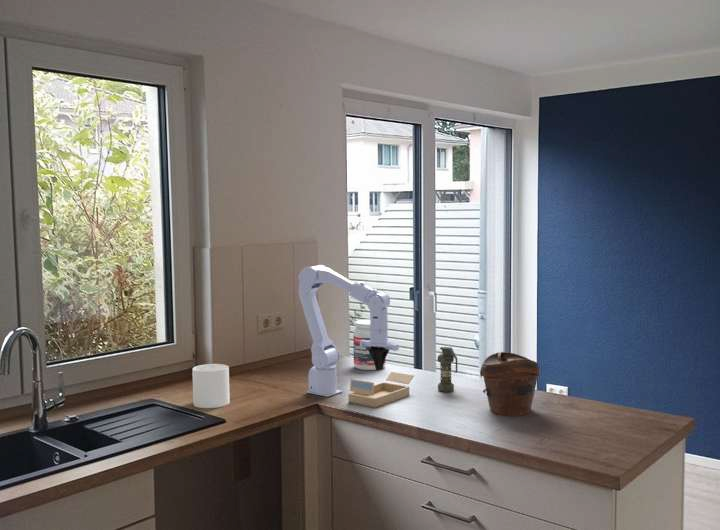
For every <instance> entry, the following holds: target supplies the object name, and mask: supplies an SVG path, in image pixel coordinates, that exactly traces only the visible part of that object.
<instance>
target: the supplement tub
mask: <svg viewBox="0 0 720 530" xmlns="http://www.w3.org/2000/svg"><path fill="white" fill-rule="evenodd" d="M354 326H355V329H354V331H353V335H352V337H353V366H354V367H355V369H357V370H362V371H377V370H376V368H375V364H374V361H373V358H372V356H371V354H370V353H369V349H371V347H367V346H360V340H370V319H359V320H356V321H355V322H354ZM386 358H387V357H386ZM386 358H385V361H384V365H383V368H385V366H386V363H387V360H386Z"/></svg>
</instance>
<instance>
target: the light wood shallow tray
mask: <svg viewBox="0 0 720 530" xmlns="http://www.w3.org/2000/svg"><path fill="white" fill-rule="evenodd" d="M409 396H410V386H406V385H402V384H396V383H395V384H394V383H392V382H383V381H382V382H379V383H377V384H374V395H368V394H363V393H357V392H352V391H351V392H350V393H349V392H348V403H349V404H353V405H357V406H362V407H368V408H373V409H377V408H380V407H382V406H385V405H388V404H391V403H393V402H395V401H399V400H401V399H404V398H406V397H409Z"/></svg>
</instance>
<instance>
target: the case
mask: <svg viewBox="0 0 720 530" xmlns="http://www.w3.org/2000/svg"><path fill="white" fill-rule="evenodd" d="M479 371H480V372H479V374H480V375H479V377H480V379H482V378H483V380H484V381H483V382H484V387H485V388H484V389H483V391H482V392H483V393H484V394H485V395H486V396H487V397H486V398H487V401H488V406H489V410H490V411H491V412H492V413H495V414H497V415H501V416H506V417H507V416H510V417H515V416H516V417H517V416H518V417H519V416H523V415H527V414H529V413H531V411H532V406H533V401H534V397H535V392H536V386H537V382H538V376H540V377H542V374H541V370H540V366H539V363H538V362H537V361H534V360H531V359H529V358H528V357H526V356H523V355H520V354H517V353H513V352H506V351H500V352H496V353H493V354H491V355H489V356H487V357H486V358H485V359H484V360H483V363H482V364H481V367H480V370H479Z"/></svg>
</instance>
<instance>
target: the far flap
mask: <svg viewBox="0 0 720 530" xmlns="http://www.w3.org/2000/svg"><path fill="white" fill-rule="evenodd" d="M414 377H415V375H413V374H406V373H401V372H395V371H391V372H390V373H389V374H388V376H387V378H386V380H385V381H387V382H391V383H399V384H403V385H409V384H410V383H411V381H412V380H413V378H414Z"/></svg>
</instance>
